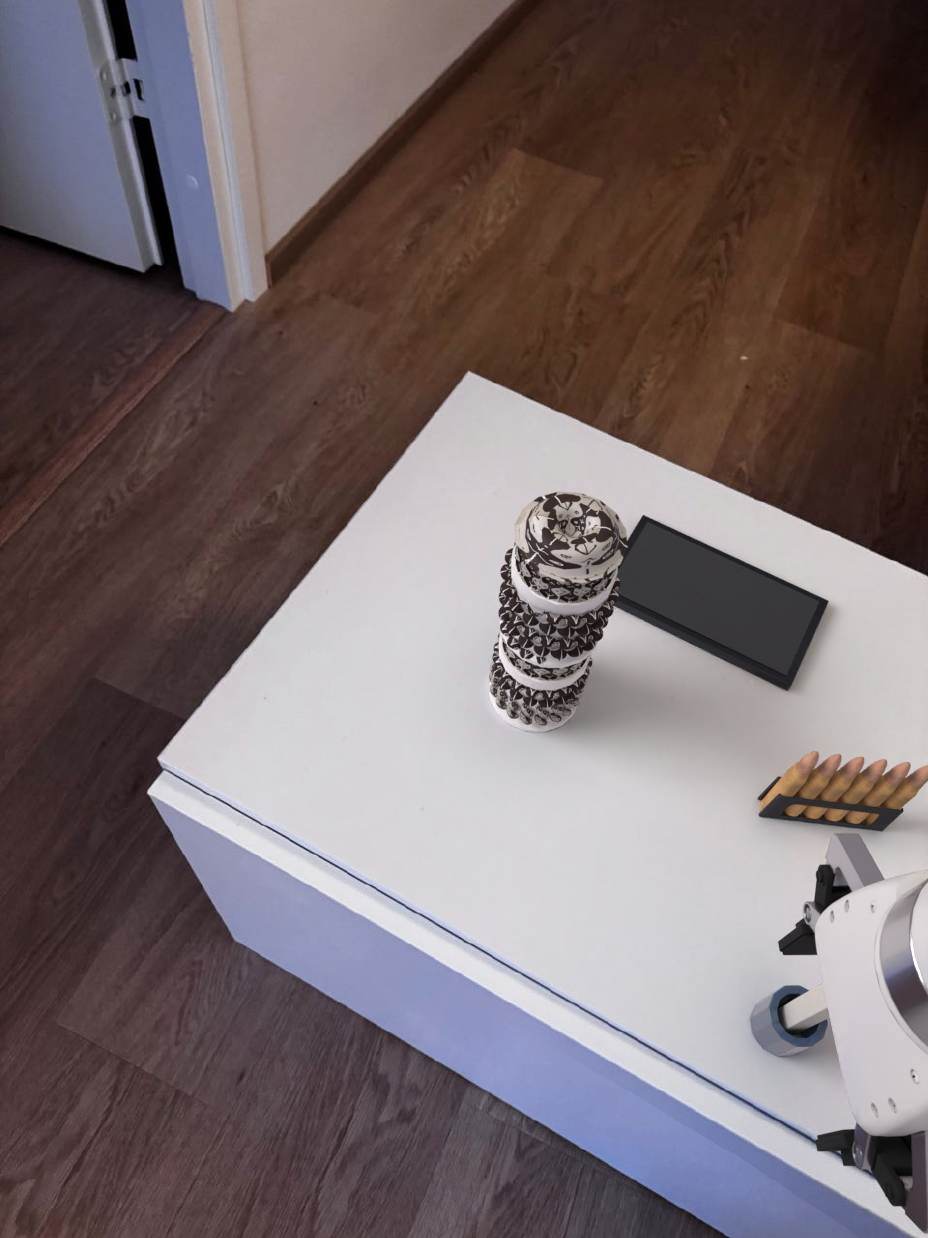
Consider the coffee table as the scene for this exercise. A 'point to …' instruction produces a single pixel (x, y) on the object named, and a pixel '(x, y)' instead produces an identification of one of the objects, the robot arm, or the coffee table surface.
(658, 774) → the coffee table surface
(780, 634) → the tablet
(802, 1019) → the stylus
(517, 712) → the decorative candle
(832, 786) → the ammunition clip
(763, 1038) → the holder
